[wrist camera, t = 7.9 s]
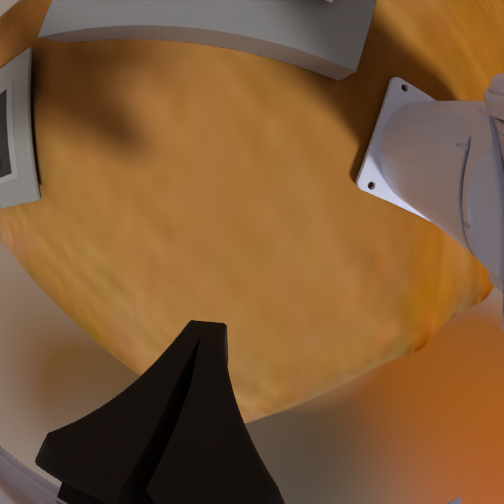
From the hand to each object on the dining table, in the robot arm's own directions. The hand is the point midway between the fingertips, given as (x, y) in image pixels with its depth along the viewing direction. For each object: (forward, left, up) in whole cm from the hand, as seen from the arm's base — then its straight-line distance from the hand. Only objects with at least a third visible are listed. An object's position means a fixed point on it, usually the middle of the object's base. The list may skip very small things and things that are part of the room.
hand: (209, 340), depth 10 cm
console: (+7, -18, -9) cm, 21 cm away
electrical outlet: (+23, -4, -10) cm, 25 cm away
